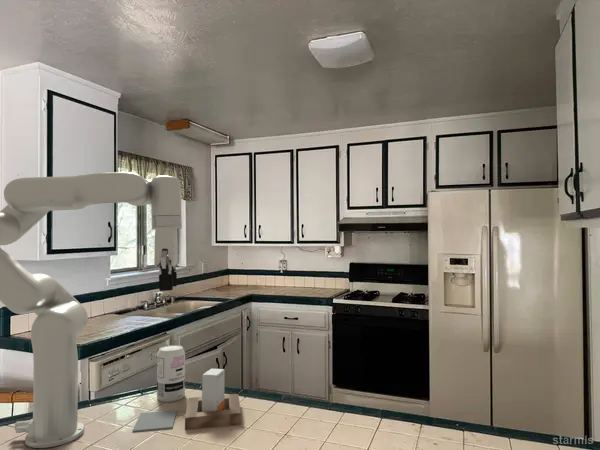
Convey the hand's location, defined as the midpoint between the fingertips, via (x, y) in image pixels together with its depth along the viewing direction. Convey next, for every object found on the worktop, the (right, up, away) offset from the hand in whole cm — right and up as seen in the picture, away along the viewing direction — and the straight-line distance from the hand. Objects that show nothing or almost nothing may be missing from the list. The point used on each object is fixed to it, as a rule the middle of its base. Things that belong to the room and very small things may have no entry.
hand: (168, 288), depth 110 cm
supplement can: (-5, -36, +18) cm, 41 cm away
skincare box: (+11, -36, +4) cm, 37 cm away
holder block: (+11, -35, +4) cm, 37 cm away
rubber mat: (-4, -35, +1) cm, 36 cm away
